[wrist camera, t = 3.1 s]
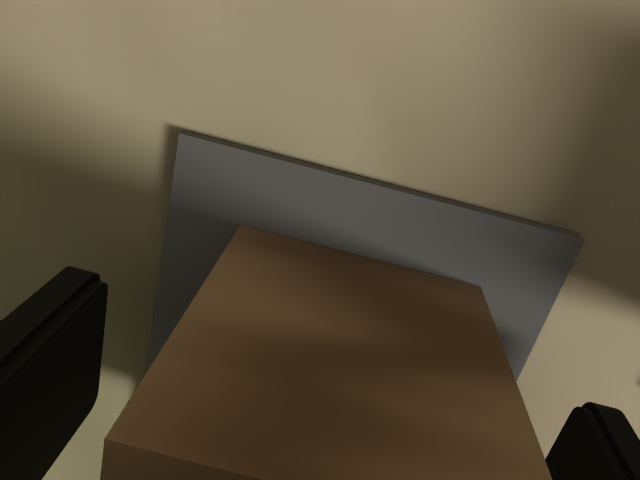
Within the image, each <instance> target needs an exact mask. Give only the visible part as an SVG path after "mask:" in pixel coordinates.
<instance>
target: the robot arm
mask: <svg viewBox="0 0 640 480" xmlns="http://www.w3.org/2000/svg"><path fill="white" fill-rule="evenodd" d="M107 294H108V286H107V284H106V283H103V282H100V275H99V274H98V273H94V272H90V271H86V270H83V269H79V268H75V267H71V266H68V267H66V268H64V269H63V270H62V271H61V272H59V273H58V274H57V275H56V276H55V277H53V278H52V279H51V280H50V281H49V282H47V283H46V284H45V285H44V286H43V287H41V288H40V289H39V290H38V291H37V292H35V293H34V294H33V295H32V296H31V297H29V298H28V299H27V300H26V301H24V302H23V303H22V304H21V305H20V306H18V307H17V308H16V309H15V310H14V311H12V312H11V313H10V314H9V315H8V316H6V317H5V318H4V319H3V320H1V321H0V480H42V478H43V477H44V476H45V474H46V473H47V471H48V470H49V469H50V467H51V466H52V464H53V463H54V462H55V460H56V459H57V457H58V456H59V455H60V453H61V452H62V450H63V449H64V448H65V446H66V445H67V443H68V442H69V441H70V439H71V438H72V436H73V435H74V434H75V432H76V431H77V429H78V428H79V427H80V425H81V424H82V422H83V421H84V420H85V418H86V417H87V415H88V414H89V413H90V411H91V409H92V408H93V406H94V404H95V401H96V399H97V395H98V390H99V379H100V368H101V358H102V347H103V336H104V326H105V315H106V304H107ZM545 461H546V464H547V467H548V469H549V472H550V475H551V477H552V480H640V440H639V438H638V437H637V435H636V433H635V432H634V430H633V428H632V427H631V425H630V424H629V422H628V420H627V419H626V417H625V415H624V414H623V413H622V412H621V411H620V410H618V409H615V408H612V407H608V406H604V405H600V404H596V403H592V402H587V403H585V404H584V405H583V406H582V407H576V408H574V409H573V410H572V412H571V414H570V415H569V417H568V419H567V421H566V423H565V425H564V426H563V428H562V430H561V432H560V434H559V435H558V437H557V439H556V441H555V443H554V445H553V446H552V448H551V450H550V452H549V454H548V456H547V457H546V459H545Z"/></svg>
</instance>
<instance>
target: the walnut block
mask: <svg viewBox="0 0 640 480" xmlns="http://www.w3.org/2000/svg"><path fill="white" fill-rule="evenodd" d="M100 480H552V477H551V475H550V472H549V469H548V467H547V464H546V461H545V459H544V456H543V453H542V450H541V448H540V445H539V442H538V440H537V437H536V434H535V432H534V429H533V426H532V423H531V421H530V418H529V415H528V413H527V410H526V407H525V404H524V402H523V399H522V396H521V394H520V391H519V388H518V386H517V383H516V380H515V377H514V375H513V372H512V369H511V367H510V364H509V361H508V359H507V356H506V353H505V350H504V348H503V345H502V342H501V340H500V337H499V334H498V332H497V329H496V326H495V323H494V321H493V318H492V315H491V313H490V310H489V307H488V305H487V302H486V299H485V296H484V294H483V291H482V288H481V287H478V286H474V285H471V284H467V283H463V282H459V281H455V280H452V279H448V278H444V277H440V276H436V275H432V274H429V273H425V272H421V271H417V270H413V269H410V268H406V267H402V266H398V265H394V264H390V263H387V262H383V261H379V260H375V259H371V258H367V257H364V256H360V255H356V254H352V253H348V252H345V251H341V250H337V249H333V248H329V247H325V246H322V245H318V244H314V243H310V242H306V241H303V240H299V239H295V238H291V237H287V236H283V235H280V234H276V233H272V232H268V231H264V230H261V229H257V228H253V227H249V226H245V225H240V227H239V228H238V230H237V231H236V233H235V235H234V236H233V238H232V239H231V241H230V242H229V244H228V246H227V247H226V249H225V250H224V252H223V253H222V255H221V257H220V258H219V260H218V261H217V263H216V264H215V266H214V268H213V269H212V271H211V272H210V274H209V275H208V277H207V279H206V280H205V282H204V283H203V285H202V286H201V288H200V290H199V291H198V293H197V294H196V296H195V297H194V299H193V301H192V302H191V304H190V305H189V307H188V308H187V310H186V312H185V313H184V315H183V316H182V318H181V319H180V321H179V323H178V324H177V326H176V327H175V329H174V330H173V332H172V334H171V335H170V337H169V338H168V340H167V341H166V343H165V345H164V346H163V348H162V349H161V351H160V352H159V354H158V356H157V357H156V359H155V360H154V362H153V363H152V365H151V367H150V368H149V370H148V371H147V373H146V374H145V376H144V378H143V379H142V381H141V382H140V384H139V385H138V387H137V389H136V390H135V392H134V393H133V395H132V396H131V398H130V400H129V401H128V403H127V404H126V406H125V407H124V409H123V411H122V412H121V414H120V415H119V417H118V418H117V420H116V422H115V423H114V425H113V426H112V428H111V429H110V431H109V433H108V434H107V436H106V437H105V439H104V449H103V459H102V468H101V478H100Z"/></svg>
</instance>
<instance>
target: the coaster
mask: <svg viewBox="0 0 640 480" xmlns="http://www.w3.org/2000/svg"><path fill="white" fill-rule="evenodd" d="M240 225H245V226H249V227H253V228H257V229H261V230H264V231H268V232H272V233H276V234H280V235H283V236H287V237H291V238H295V239H299V240H303V241H306V242H310V243H314V244H318V245H322V246H325V247H329V248H333V249H337V250H341V251H345V252H348V253H352V254H356V255H360V256H364V257H367V258H371V259H375V260H379V261H383V262H387V263H390V264H394V265H398V266H402V267H406V268H410V269H413V270H417V271H421V272H425V273H429V274H432V275H436V276H440V277H444V278H448V279H452V280H455V281H459V282H463V283H467V284H471V285H474V286H478V287H481V288H482V291H483V294H484V296H485V299H486V302H487V305H488V307H489V310H490V313H491V315H492V318H493V321H494V323H495V326H496V329H497V332H498V334H499V337H500V340H501V342H502V345H503V348H504V350H505V353H506V356H507V359H508V361H509V364H510V367H511V369H512V372H513V375H514V377H515V380H516V381H517V379H518V377H519V375H520V373H521V371H522V368H523V366H524V364H525V362H526V360H527V358H528V356H529V354H530V352H531V350H532V348H533V346H534V343H535V341H536V339H537V337H538V335H539V333H540V331H541V329H542V327H543V325H544V323H545V321H546V318H547V316H548V314H549V312H550V310H551V308H552V306H553V304H554V302H555V300H556V298H557V296H558V293H559V291H560V289H561V287H562V285H563V283H564V281H565V279H566V277H567V275H568V273H569V271H570V268H571V266H572V264H573V262H574V260H575V258H576V256H577V254H578V252H579V250H580V248H581V246H582V243H583V241H584V239H583V238H582V237H581V235H580V234H578V233H574V232H570V231H567V230H563V229H559V228H555V227H551V226H547V225H544V224H540V223H536V222H532V221H528V220H525V219H521V218H517V217H513V216H509V215H506V214H502V213H498V212H494V211H490V210H486V209H483V208H479V207H475V206H471V205H467V204H464V203H460V202H456V201H452V200H448V199H445V198H441V197H437V196H433V195H429V194H426V193H422V192H418V191H414V190H410V189H406V188H403V187H399V186H395V185H391V184H387V183H384V182H380V181H376V180H372V179H368V178H365V177H361V176H357V175H353V174H349V173H345V172H342V171H338V170H334V169H330V168H326V167H323V166H319V165H315V164H311V163H307V162H304V161H300V160H296V159H292V158H288V157H285V156H281V155H277V154H273V153H269V152H265V151H262V150H258V149H254V148H250V147H246V146H243V145H239V144H235V143H231V142H227V141H224V140H220V139H216V138H212V137H208V136H204V135H201V134H197V133H193V132H189V131H185V130H183V131H182V132H180V133H179V136H178V143H177V151H176V158H175V165H174V173H173V180H172V187H171V195H170V202H169V209H168V217H167V224H166V231H165V239H164V246H163V253H162V261H161V268H160V275H159V283H158V290H157V297H156V305H155V312H154V319H153V327H152V334H151V341H150V349H149V356H148V363H147V371H148V370H149V368H150V367H151V365H152V363H153V362H154V360H155V359H156V357H157V356H158V354H159V352H160V351H161V349H162V348H163V346H164V345H165V343H166V341H167V340H168V338H169V337H170V335H171V334H172V332H173V330H174V329H175V327H176V326H177V324H178V323H179V321H180V319H181V318H182V316H183V315H184V313H185V312H186V310H187V308H188V307H189V305H190V304H191V302H192V301H193V299H194V297H195V296H196V294H197V293H198V291H199V290H200V288H201V286H202V285H203V283H204V282H205V280H206V279H207V277H208V275H209V274H210V272H211V271H212V269H213V268H214V266H215V264H216V263H217V261H218V260H219V258H220V257H221V255H222V253H223V252H224V250H225V249H226V247H227V246H228V244H229V242H230V241H231V239H232V238H233V236H234V235H235V233H236V231H237V230H238V228H239V227H240ZM147 371H146V373H147Z"/></svg>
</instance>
